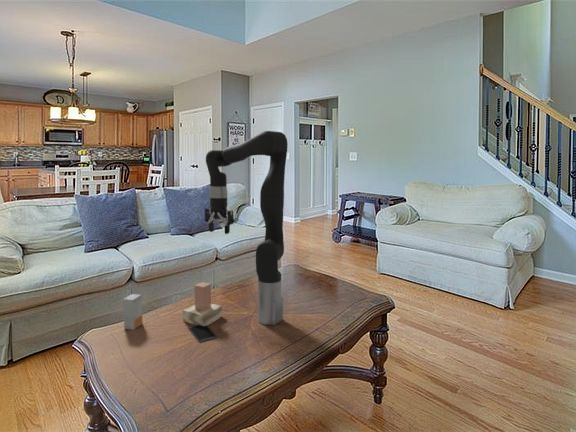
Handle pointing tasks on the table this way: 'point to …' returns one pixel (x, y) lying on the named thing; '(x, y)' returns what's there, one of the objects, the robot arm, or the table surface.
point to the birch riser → (202, 315)
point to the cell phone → (202, 333)
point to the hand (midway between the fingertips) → (219, 232)
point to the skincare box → (132, 311)
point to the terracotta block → (202, 296)
